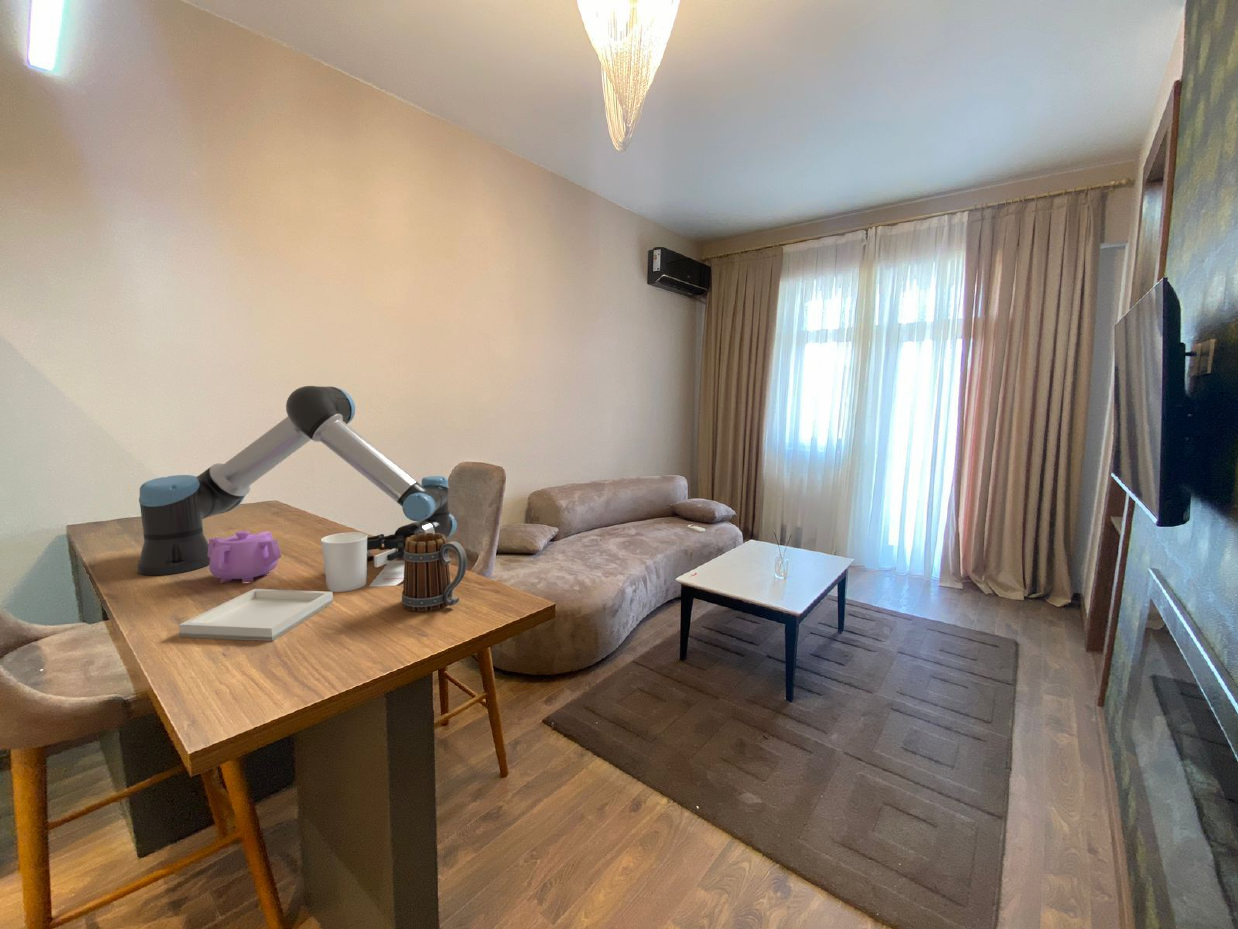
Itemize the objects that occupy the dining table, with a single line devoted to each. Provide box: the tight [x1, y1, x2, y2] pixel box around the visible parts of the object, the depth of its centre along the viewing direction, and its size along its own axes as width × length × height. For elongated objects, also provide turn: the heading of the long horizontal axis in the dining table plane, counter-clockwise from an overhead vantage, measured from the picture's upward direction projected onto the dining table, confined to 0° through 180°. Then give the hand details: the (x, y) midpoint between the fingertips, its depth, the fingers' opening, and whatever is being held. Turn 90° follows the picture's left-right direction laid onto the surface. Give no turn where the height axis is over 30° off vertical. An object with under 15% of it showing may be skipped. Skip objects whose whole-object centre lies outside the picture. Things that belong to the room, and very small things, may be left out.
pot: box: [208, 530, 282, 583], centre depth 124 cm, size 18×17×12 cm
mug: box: [401, 533, 468, 613], centre depth 109 cm, size 16×11×15 cm
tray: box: [178, 588, 334, 642], centre depth 102 cm, size 18×18×2 cm
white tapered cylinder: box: [320, 531, 369, 593], centre depth 120 cm, size 10×10×12 cm
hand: (352, 558), depth 121 cm, fingers open, 13 cm apart
